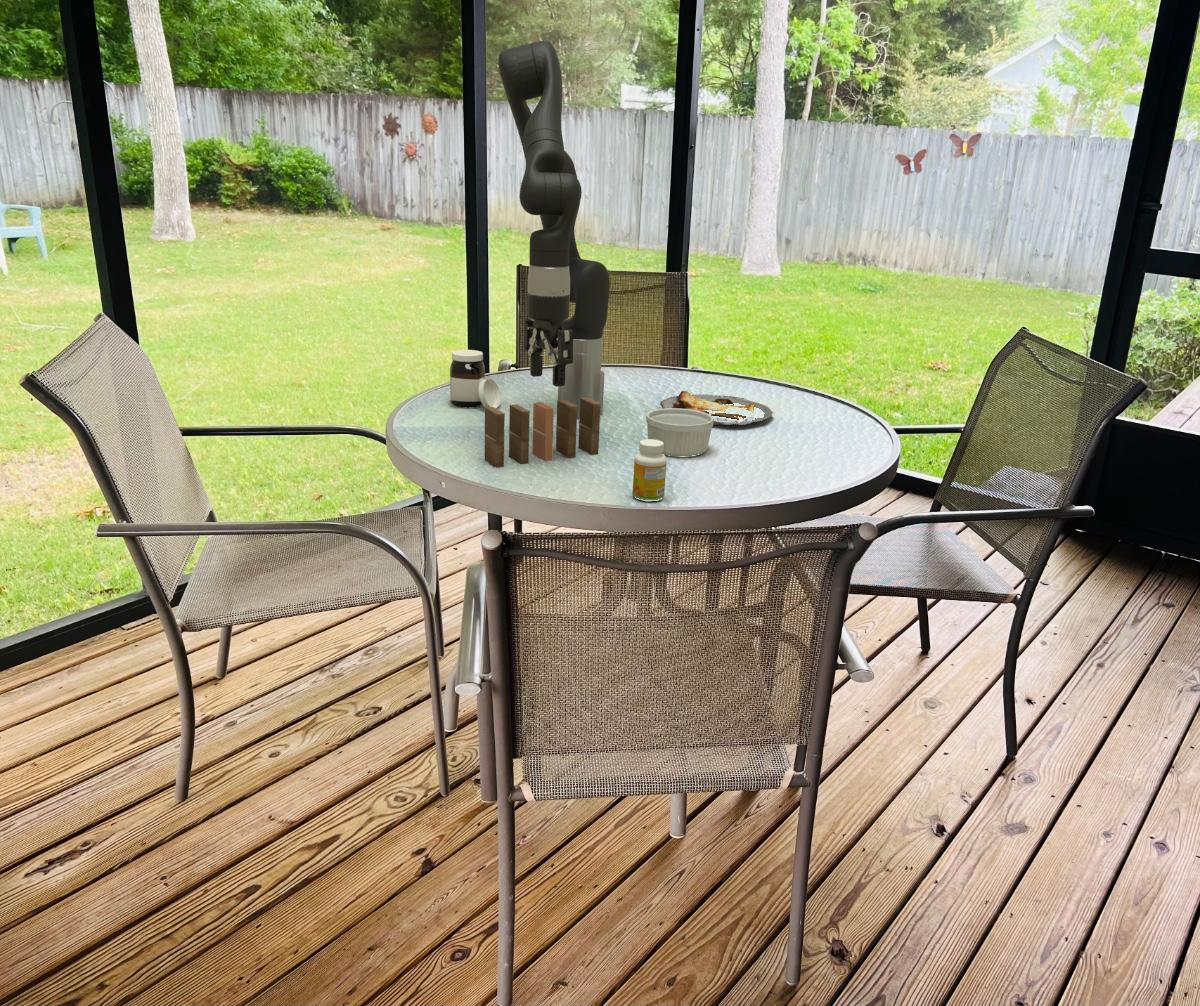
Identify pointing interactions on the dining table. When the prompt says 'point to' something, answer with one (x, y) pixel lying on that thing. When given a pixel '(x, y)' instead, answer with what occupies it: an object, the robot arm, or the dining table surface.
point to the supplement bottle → (649, 471)
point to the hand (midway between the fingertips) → (547, 380)
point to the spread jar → (471, 381)
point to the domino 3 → (542, 431)
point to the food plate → (714, 405)
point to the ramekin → (680, 430)
